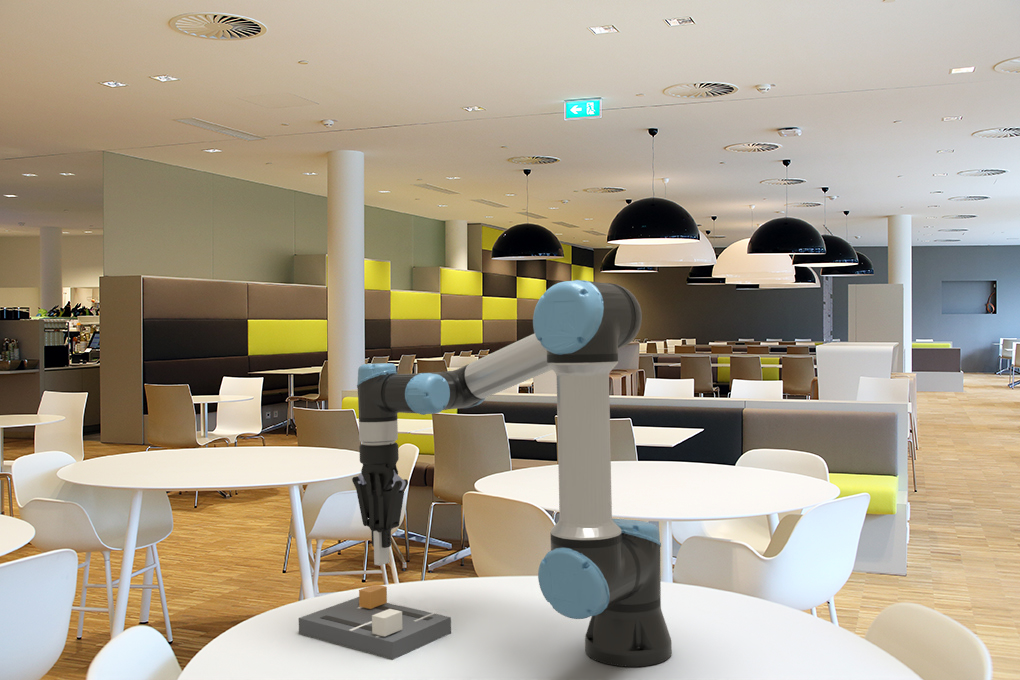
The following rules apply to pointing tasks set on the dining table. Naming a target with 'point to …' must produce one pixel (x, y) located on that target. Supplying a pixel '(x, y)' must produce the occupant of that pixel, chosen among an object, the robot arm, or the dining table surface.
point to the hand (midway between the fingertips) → (381, 563)
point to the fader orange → (372, 596)
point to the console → (355, 628)
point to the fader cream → (387, 622)
